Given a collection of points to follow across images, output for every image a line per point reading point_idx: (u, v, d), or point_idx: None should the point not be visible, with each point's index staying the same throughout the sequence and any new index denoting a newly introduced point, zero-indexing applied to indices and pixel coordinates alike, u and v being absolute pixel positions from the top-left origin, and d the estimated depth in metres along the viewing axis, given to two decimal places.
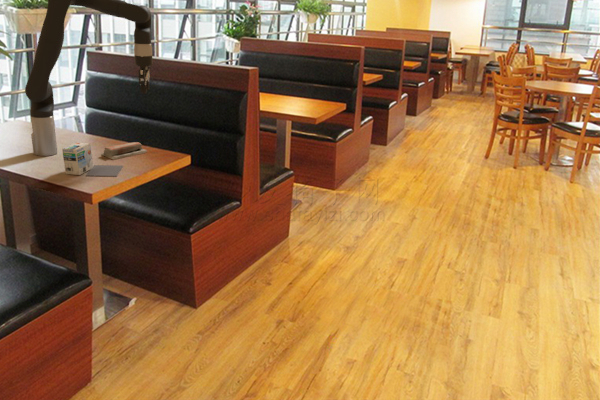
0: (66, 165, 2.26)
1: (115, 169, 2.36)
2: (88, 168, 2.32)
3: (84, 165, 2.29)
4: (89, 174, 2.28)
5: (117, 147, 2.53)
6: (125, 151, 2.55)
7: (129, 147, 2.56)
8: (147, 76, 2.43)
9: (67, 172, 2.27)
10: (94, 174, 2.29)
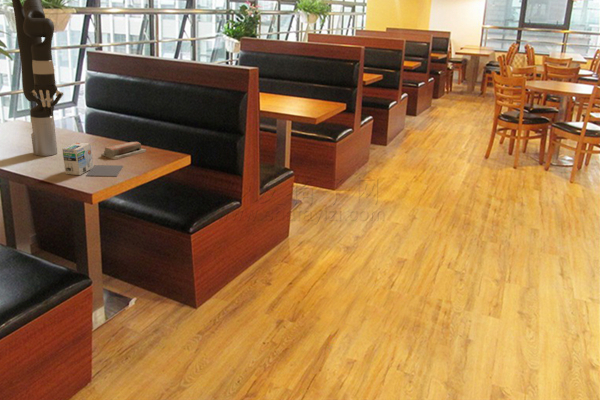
0: (66, 165, 2.26)
1: (115, 169, 2.36)
2: (88, 168, 2.32)
3: (84, 165, 2.29)
4: (89, 174, 2.28)
5: (118, 147, 2.53)
6: (125, 151, 2.56)
7: (129, 147, 2.57)
8: None
9: (67, 172, 2.27)
10: (94, 174, 2.29)
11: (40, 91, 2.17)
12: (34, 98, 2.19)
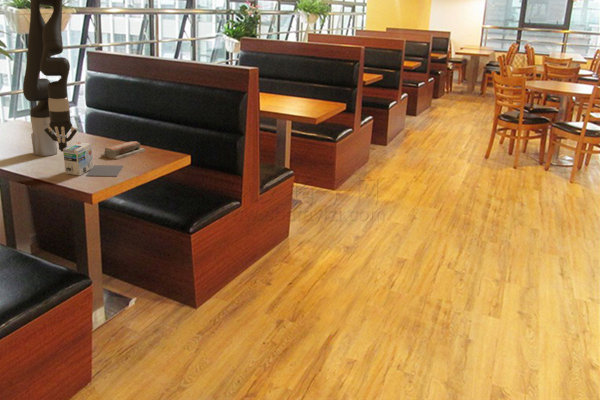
0: (66, 165, 2.26)
1: (115, 169, 2.36)
2: (88, 168, 2.32)
3: (84, 165, 2.29)
4: (89, 174, 2.28)
5: (118, 147, 2.53)
6: (126, 151, 2.56)
7: (129, 146, 2.57)
8: None
9: (67, 172, 2.27)
10: (94, 174, 2.29)
11: (55, 127, 2.22)
12: (50, 134, 2.24)
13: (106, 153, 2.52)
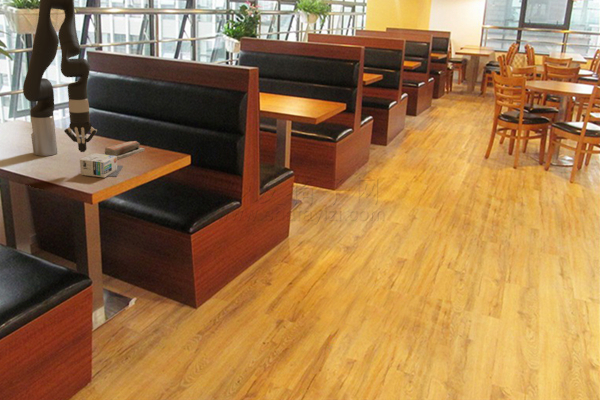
0: (88, 162, 2.24)
1: None
2: None
3: None
4: None
5: (118, 147, 2.53)
6: (126, 150, 2.56)
7: (129, 146, 2.58)
8: None
9: (81, 162, 2.25)
10: None
11: (75, 128, 2.24)
12: (69, 135, 2.25)
13: (106, 153, 2.52)
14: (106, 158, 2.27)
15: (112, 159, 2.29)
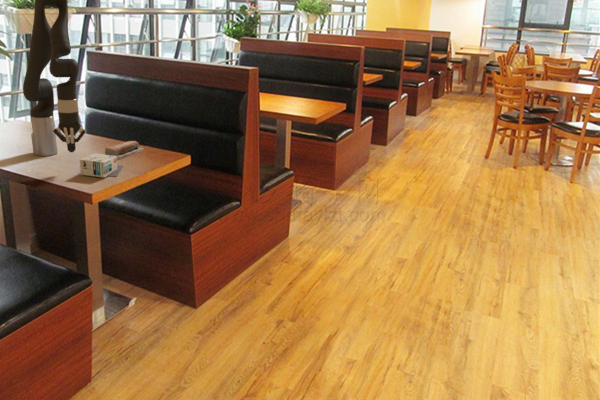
0: (88, 162, 2.24)
1: None
2: None
3: None
4: None
5: (118, 147, 2.54)
6: (126, 150, 2.56)
7: (129, 146, 2.58)
8: None
9: (81, 162, 2.25)
10: None
11: (64, 128, 2.24)
12: (58, 135, 2.25)
13: (107, 153, 2.52)
14: (106, 158, 2.27)
15: (112, 159, 2.29)
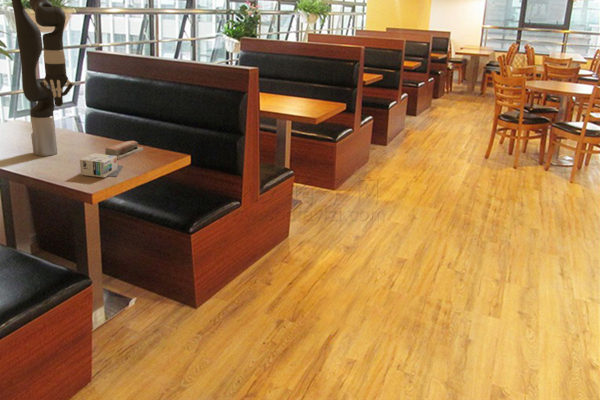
0: (88, 162, 2.24)
1: None
2: None
3: None
4: None
5: (119, 147, 2.54)
6: (126, 150, 2.57)
7: (129, 146, 2.58)
8: None
9: (81, 162, 2.25)
10: None
11: (51, 81, 2.17)
12: (45, 88, 2.18)
13: (107, 153, 2.51)
14: (106, 158, 2.27)
15: (112, 159, 2.29)
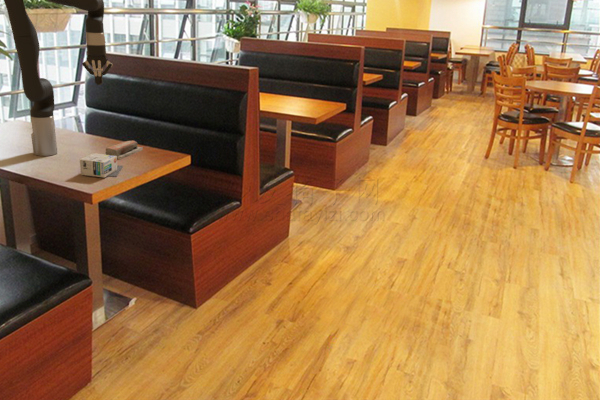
0: (88, 162, 2.24)
1: None
2: None
3: None
4: None
5: (119, 147, 2.54)
6: (126, 150, 2.57)
7: (129, 146, 2.58)
8: None
9: (81, 162, 2.25)
10: None
11: (92, 61, 2.37)
12: (87, 68, 2.38)
13: (108, 153, 2.51)
14: (106, 158, 2.27)
15: (112, 159, 2.29)
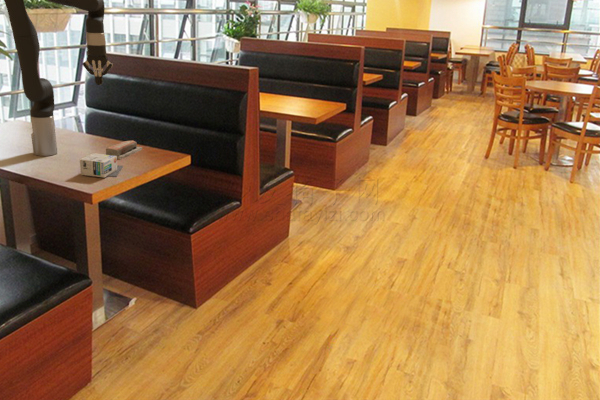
0: (88, 162, 2.24)
1: None
2: None
3: None
4: None
5: (119, 147, 2.54)
6: (126, 150, 2.57)
7: (128, 146, 2.58)
8: None
9: (81, 162, 2.25)
10: None
11: (93, 61, 2.37)
12: (87, 68, 2.38)
13: (108, 153, 2.51)
14: (106, 158, 2.27)
15: (112, 159, 2.29)
